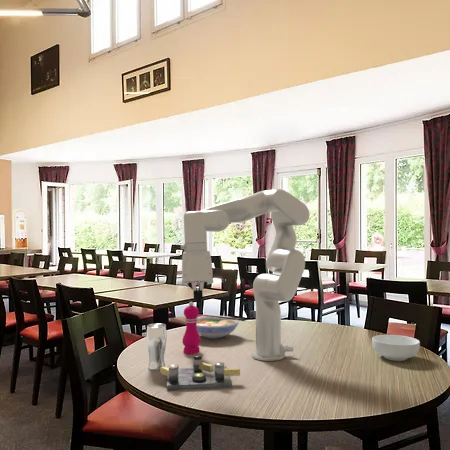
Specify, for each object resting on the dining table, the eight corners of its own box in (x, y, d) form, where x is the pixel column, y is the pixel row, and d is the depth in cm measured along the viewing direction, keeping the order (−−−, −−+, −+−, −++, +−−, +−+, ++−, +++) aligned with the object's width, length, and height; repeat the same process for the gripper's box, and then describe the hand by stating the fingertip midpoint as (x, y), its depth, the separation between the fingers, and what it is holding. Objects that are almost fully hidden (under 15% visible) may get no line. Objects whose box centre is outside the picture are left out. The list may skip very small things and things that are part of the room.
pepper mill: (198, 355, 175) (197, 303, 175) (180, 354, 177) (179, 303, 177) (202, 350, 182) (202, 300, 182) (185, 349, 184) (185, 300, 184)
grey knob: (214, 379, 142) (214, 365, 142) (214, 376, 145) (214, 362, 145) (240, 378, 143) (240, 364, 143) (239, 375, 146) (238, 361, 146)
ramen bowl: (176, 338, 201) (176, 320, 201) (207, 328, 220) (207, 311, 220) (222, 346, 187) (222, 327, 187) (251, 335, 206) (250, 317, 206)
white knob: (180, 380, 142) (180, 365, 142) (172, 382, 140) (172, 367, 140) (166, 373, 148) (166, 359, 148) (158, 376, 146) (158, 361, 146)
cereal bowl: (426, 357, 170) (426, 338, 170) (409, 367, 158) (409, 347, 158) (383, 349, 182) (382, 331, 182) (364, 358, 170) (364, 339, 170)
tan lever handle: (190, 370, 152) (190, 356, 152) (197, 367, 154) (197, 354, 154) (208, 375, 146) (208, 361, 146) (215, 372, 149) (215, 358, 149)
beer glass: (150, 372, 155) (150, 328, 155) (144, 366, 162) (144, 324, 162) (169, 368, 159) (169, 326, 159) (162, 363, 165) (162, 322, 165)
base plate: (226, 371, 156) (226, 361, 156) (232, 387, 140) (232, 377, 140) (167, 373, 154) (167, 364, 154) (167, 390, 138) (166, 380, 138)
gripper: (174, 249, 148) (176, 305, 148) (219, 247, 150) (221, 302, 150) (173, 248, 155) (175, 301, 156) (216, 245, 157) (218, 298, 158)
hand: (198, 301), depth 153 cm, fingers closed
